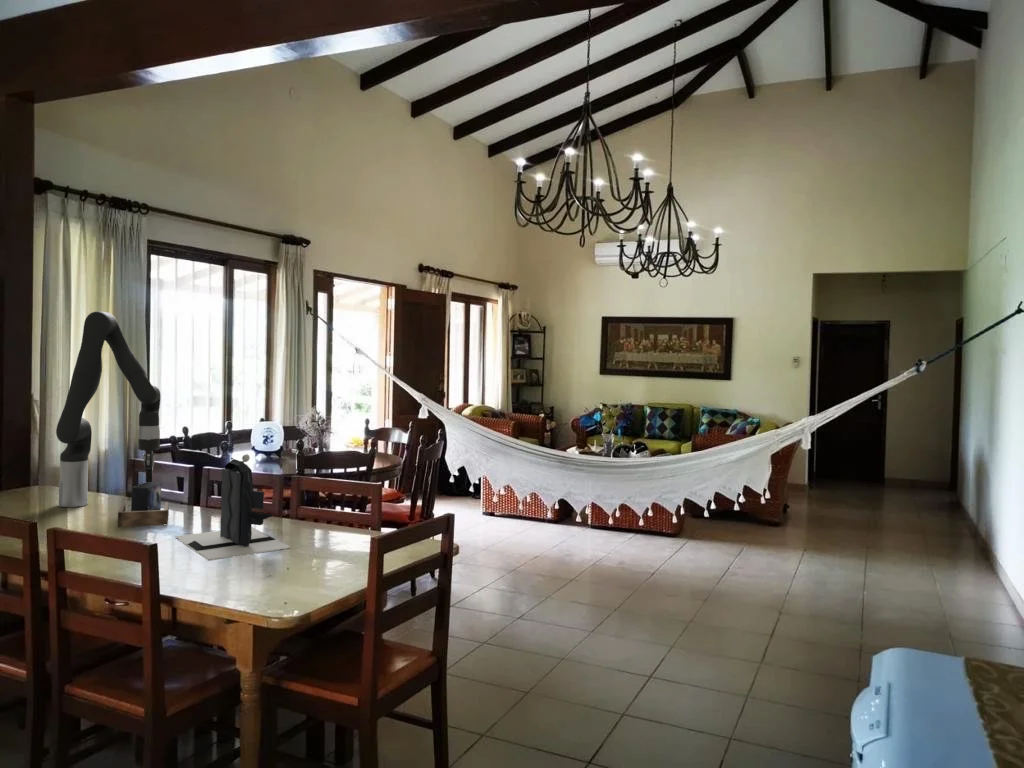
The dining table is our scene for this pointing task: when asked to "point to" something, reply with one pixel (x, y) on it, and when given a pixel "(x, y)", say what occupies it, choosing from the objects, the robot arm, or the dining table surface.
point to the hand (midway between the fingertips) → (149, 481)
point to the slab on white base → (235, 519)
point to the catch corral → (143, 517)
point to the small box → (146, 497)
